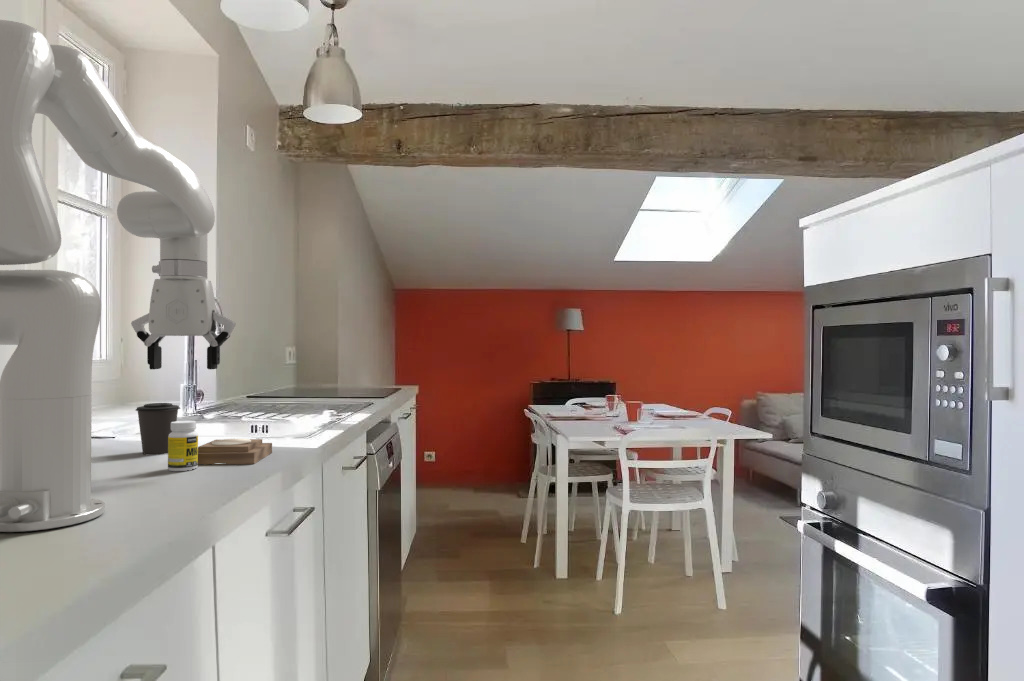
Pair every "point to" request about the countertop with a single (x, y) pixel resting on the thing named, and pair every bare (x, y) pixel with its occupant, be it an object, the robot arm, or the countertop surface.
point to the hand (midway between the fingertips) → (184, 368)
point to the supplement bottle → (183, 446)
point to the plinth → (233, 451)
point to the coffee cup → (156, 426)
